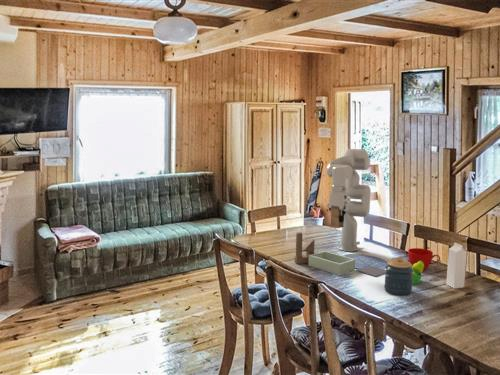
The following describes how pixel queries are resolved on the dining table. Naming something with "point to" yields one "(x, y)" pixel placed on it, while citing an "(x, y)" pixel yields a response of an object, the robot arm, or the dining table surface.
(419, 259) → the ceramic cup
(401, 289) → the canister
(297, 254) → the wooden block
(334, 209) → the walnut block
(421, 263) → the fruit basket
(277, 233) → the dining table surface
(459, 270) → the milk
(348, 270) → the box
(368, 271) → the felt pad
